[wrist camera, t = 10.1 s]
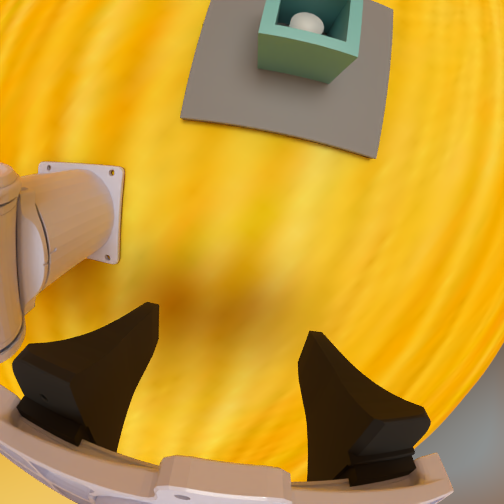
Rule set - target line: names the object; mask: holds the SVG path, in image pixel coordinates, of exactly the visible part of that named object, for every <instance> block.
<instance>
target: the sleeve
mask: <svg viewBox="0 0 504 504" xmlns="http://www.w3.org/2000/svg"><path fill="white" fill-rule="evenodd" d="M362 11H363V0H266V3H265V7H264V11H263V15H262V19H261V23H260V27H259V32H258V65H257V68H258V69H264V70H270V71H275V72H281V73H286V74H290V75H295V76H299V77H304V78H308V79H312V80H316V81H319V82H323V83H327V84H329V83H331V82H332V81H333V80H334V79H335V78H336V77H337V76H338V75H339V74H340V73H341V72H342V71H343V70H344V69H346V68H347V67H348V66H349V65H350V64H351V63H352V62H353V61H354V60H355V59H357V58H358V53H359V44H360V35H361V24H362ZM301 12H307V13H311V14H314V15H316V16H317V17H319V18H320V19H321V21H322V22H323V25H324V30H323V33H327V36H324V35H321V34H317V33H313V32H309V31H305V30H300V29H296V28H291V27H286V26H281V25H277V23H278V22H279V23H285V24H290V21H291V18H292V17H293V16H294V15H295V14H297V13H301Z"/></svg>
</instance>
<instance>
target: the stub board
mask: <svg viewBox="0 0 504 504" xmlns="http://www.w3.org/2000/svg"><path fill="white" fill-rule="evenodd" d="M265 3H266V0H211V2H210V5H209V8H208V11H207V14H206V17H205V21H204V24H203V27H202V30H201V34H200V37H199V41H198V44H197V48H196V52H195V55H194V59H193V63H192V67H191V71H190V75H189V79H188V83H187V88H186V92H185V97H184V101H183V106H182V111H181V116H180V118H182V119H184V120H194V121H202V122H210V123H218V124H225V125H232V126H238V127H244V128H250V129H256V130H261V131H266V132H271V133H276V134H281V135H286V136H290V137H295V138H299V139H303V140H307V141H312V142H316V143H319V144H323V145H327V146H331V147H334V148H338V149H341V150H345V151H348V152H352V153H355V154H358V155H361V156H365V157H368V158H372V159H376V156H377V151H378V146H379V140H380V135H381V129H382V123H383V117H384V110H385V104H386V96H387V88H388V80H389V71H390V60H391V47H392V30H393V9H390V8H388V7H386V6H384V5H381V4H379V3H376V2H374V1H371V0H363V11H362V24H361V35H360V44H359V53H358V58H357V59H355V60H354V61H353V62H352V63H351V64H350V65H349V66H348V67H347V68H346V69H344V70H343V71H342V72H341V73H340V74H339V75H338V76H337V77H336V78H335V79H334V80H333V81H332V82H331V83H329V84H327V83H323V82H319V81H316V80H312V79H308V78H304V77H299V76H295V75H290V74H286V73H281V72H275V71H270V70H264V69H258V68H257V65H258V32H259V27H260V23H261V19H262V15H263V11H264V7H265ZM277 25H281V26H286V27H291V28H296V29H300V30H305V31H309V32H313V33H317V34H321V35H324V36H327V33H323V30H324V25H323V22H322V21H321V19H320V18H319V17H317V16H316V15H314V14H311V13H307V12H301V13H297V14H295V15H294V16H293V17H292V18H291V21H290V24H285V23H279V22H278V23H277Z"/></svg>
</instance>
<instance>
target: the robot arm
mask: <svg viewBox="0 0 504 504" xmlns="http://www.w3.org/2000/svg"><path fill="white" fill-rule="evenodd" d="M50 166H51V169H50ZM112 170H114V175H112V174H111V171H112ZM124 174H125V172H124V169H123V168H122V167H120V166H109V165H97V164H83V163H66V162H41V163H40V164H39V168H38V174H32V175H27V176H22V177H20V176H19V175H18V174H16V172H15V171H14V170H13V168H12V167H11V166H9V165H7V164H4V163H0V363H1V362H4V361H6V360H7V359H8V358H10V357H11V356H12V355H13V354H14V353H15V352H17V350H18V349H19V348H20V346H21V344H22V342H23V340H24V337H25V331H26V325H25V318H24V315H25V314H27V313H28V312H29V311H30V310H31V309H32V308H34V307H35V298H36V296H37V295H38V293H40V292H41V291H42V290H43V289H45V288H46V287H47V286H49V285H50V284H51V283H53V282H54V281H55V280H57V279H58V278H59V277H61V276H62V275H63V274H65V273H66V272H67V271H69V270H70V269H71V268H73V267H74V266H76V265H77V264H78V263H80V262H81V261H83V260H84V259H85V258H89V259H93V260H97V261H101V262H105V263H110V264H116V263H118V261H119V255H120V223H121V207H122V194H123V184H124ZM107 255H109V256H110V259H109V258H108V257H107ZM158 339H159V305H158V304H154V303H150V302H146V303H144V304H143V305H141V306H139V307H138V308H136V309H135V310H133V311H131V312H130V313H128V314H126V315H125V316H123V317H121V318H120V319H118V320H116V321H114V322H112V323H110V324H108V325H106V326H104V327H102V328H100V329H98V330H95V331H93V332H90V333H87V334H84V335H81V336H77V337H74V338H70V339H66V340H61V341H55V342H48V343H34V344H28V345H27V346H26V347H25V349H24V350H23V351H22V352H21V353H20V354H19V355H18V356H17V357H16V358H15V359H14V361H13V363H12V366H13V372H14V375H15V377H16V379H17V381H18V383H19V386H20V388H21V390H22V392H23V394H24V395H25V396H24V397H23V398H22V400H20V399H19V397H18V396H16V395H15V394H14V393H12V392H11V391H9V390H8V389H6V388H5V387H3V386H2V385H1V384H0V453H1V454H2V455H4V456H5V457H6V458H8V459H9V460H10V461H12V462H13V463H14V464H16V465H17V466H18V467H20V468H21V469H23V470H24V471H25V472H27V473H28V474H30V475H31V476H33V477H34V478H36V479H37V480H39V481H40V482H42V483H43V484H45V485H46V486H48V487H50V488H51V489H53V490H54V491H56V492H58V493H60V494H61V495H63V496H65V497H67V498H68V499H70V500H72V501H74V502H76V503H78V504H436V503H438V502H439V501H441V500H442V499H444V498H445V497H447V496H448V495H449V494H451V493H452V492H453V491H454V490H453V487H452V485H451V483H450V480H449V478H448V476H447V473H446V471H445V468H444V466H443V464H442V462H441V459H440V457H439V455H438V453H433V454H430V455H426V456H422V457H420V458H417V459H416V460H413V458H412V455H413V454H414V453H415V451H414V448H413V446H414V445H415V444H416V443H417V442H418V441H419V440H420V439H421V438H422V437H423V435H424V434H425V433H426V432H427V430H428V429H429V426H430V422H431V421H430V419H429V417H428V415H427V413H426V411H425V409H424V407H422V406H419V405H416V404H414V403H411V402H408V401H406V400H404V399H402V398H400V397H397V396H395V395H394V394H392V393H390V392H388V391H386V390H385V389H383V388H382V387H380V386H378V385H377V384H375V383H374V382H373V381H371V380H370V379H369V378H367V377H366V376H365V375H363V374H362V373H361V372H360V371H359V370H358V369H357V368H355V367H354V366H353V365H352V364H351V363H350V362H349V361H348V360H347V359H346V358H345V357H344V356H343V355H342V354H341V353H340V352H339V351H338V349H337V348H336V347H335V346H334V345H333V344H332V343H331V342H330V341H329V339H328V338H327V337H326V336H325V335H324V334H323V333H322V332H316V331H309V334H308V336H307V339H306V342H305V345H304V347H303V350H302V353H301V355H300V358H299V361H298V376H299V384H300V389H301V394H302V399H303V404H304V409H305V414H306V421H307V435H308V475H307V482H291V480H290V473H288V472H286V471H284V470H282V469H281V468H278V467H271V466H263V465H249V464H239V463H230V462H222V461H215V460H209V459H203V458H197V457H191V456H181V455H175V456H169V457H165V458H163V460H162V461H161V463H160V466H158V465H154V464H151V463H147V462H144V461H140V460H137V459H134V458H131V457H128V456H125V455H122V454H119V453H116V452H117V448H118V443H119V439H120V435H121V431H122V428H123V424H124V421H125V417H126V414H127V411H128V408H129V405H130V402H131V399H132V396H133V394H134V391H135V389H136V387H137V385H138V383H139V381H140V379H141V377H142V375H143V373H144V371H145V369H146V367H147V365H148V363H149V361H150V359H151V357H152V355H153V353H154V350H155V347H156V344H157V341H158Z"/></svg>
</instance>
